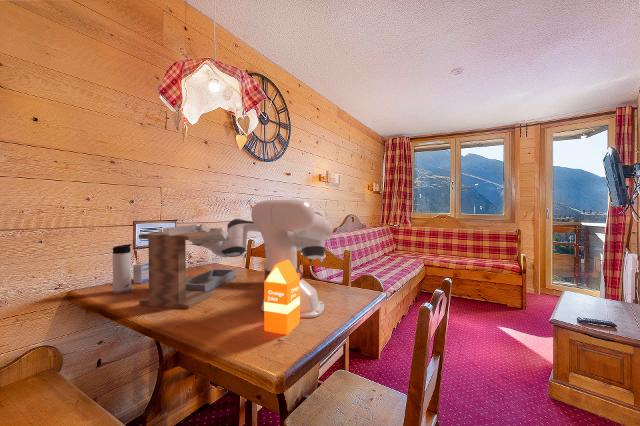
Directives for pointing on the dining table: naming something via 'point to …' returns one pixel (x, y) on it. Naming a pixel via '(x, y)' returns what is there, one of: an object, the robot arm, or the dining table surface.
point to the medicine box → (141, 272)
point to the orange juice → (282, 299)
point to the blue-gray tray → (210, 280)
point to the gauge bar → (181, 229)
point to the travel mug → (121, 269)
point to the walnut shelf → (170, 271)
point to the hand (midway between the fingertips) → (196, 226)
